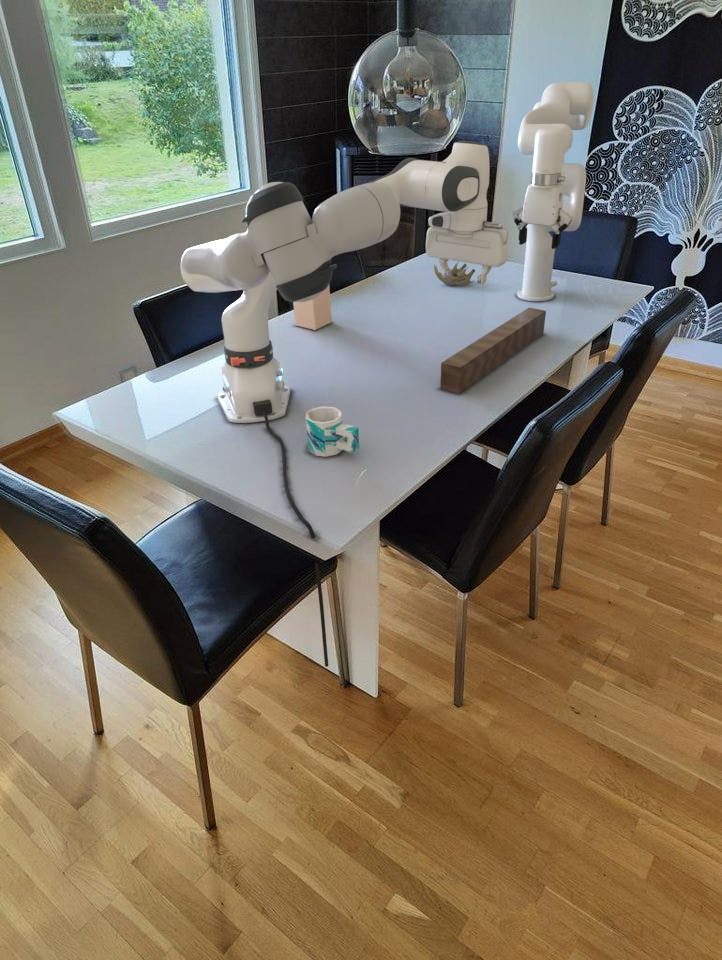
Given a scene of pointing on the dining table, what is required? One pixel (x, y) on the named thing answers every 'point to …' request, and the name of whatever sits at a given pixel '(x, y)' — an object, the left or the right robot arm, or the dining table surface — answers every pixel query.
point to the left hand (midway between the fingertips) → (464, 280)
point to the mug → (329, 432)
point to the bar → (491, 350)
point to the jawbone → (456, 276)
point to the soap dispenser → (314, 311)
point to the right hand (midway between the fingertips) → (538, 245)
